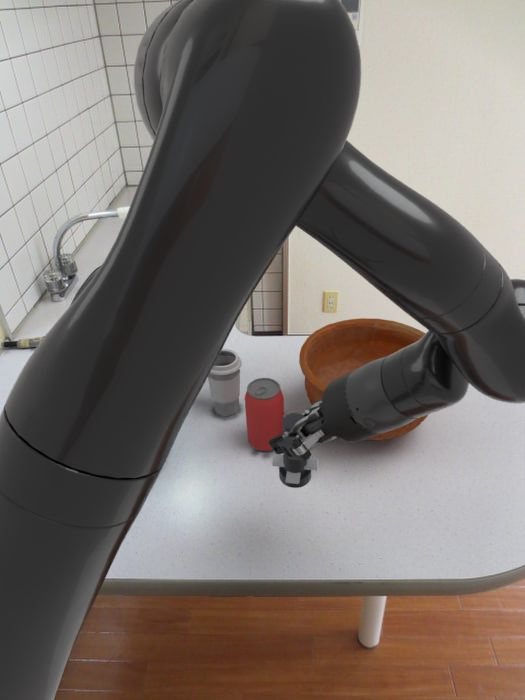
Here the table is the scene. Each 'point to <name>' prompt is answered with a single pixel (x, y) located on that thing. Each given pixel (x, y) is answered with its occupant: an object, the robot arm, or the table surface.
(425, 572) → the table surface
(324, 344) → the bowl
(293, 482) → the dark grey cylinder
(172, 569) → the table surface
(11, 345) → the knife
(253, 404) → the beer can
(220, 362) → the cup
